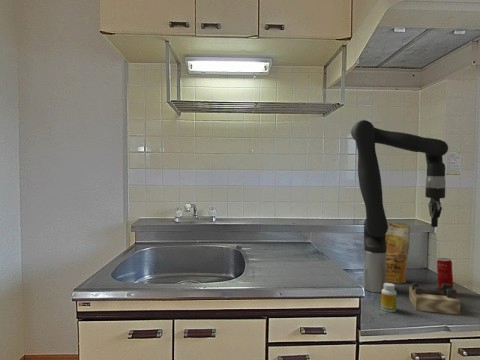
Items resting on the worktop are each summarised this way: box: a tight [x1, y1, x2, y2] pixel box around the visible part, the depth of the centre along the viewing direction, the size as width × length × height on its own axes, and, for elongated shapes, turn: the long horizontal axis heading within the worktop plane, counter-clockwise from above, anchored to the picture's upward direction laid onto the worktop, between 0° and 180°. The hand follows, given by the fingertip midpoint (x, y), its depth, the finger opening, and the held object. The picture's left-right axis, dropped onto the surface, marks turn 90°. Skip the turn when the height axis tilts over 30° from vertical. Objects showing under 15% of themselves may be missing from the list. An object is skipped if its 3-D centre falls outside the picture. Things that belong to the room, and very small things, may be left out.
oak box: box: [408, 282, 461, 315], centre depth 144 cm, size 15×14×8 cm
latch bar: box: [414, 285, 449, 294], centre depth 144 cm, size 13×4×1 cm, turn 75°
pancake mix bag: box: [385, 221, 411, 285], centre depth 175 cm, size 7×19×28 cm, turn 67°
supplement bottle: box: [380, 282, 398, 313], centre depth 140 cm, size 5×5×10 cm
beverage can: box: [436, 257, 454, 289], centre depth 158 cm, size 6×6×15 cm
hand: (434, 226), depth 157 cm, fingers closed
